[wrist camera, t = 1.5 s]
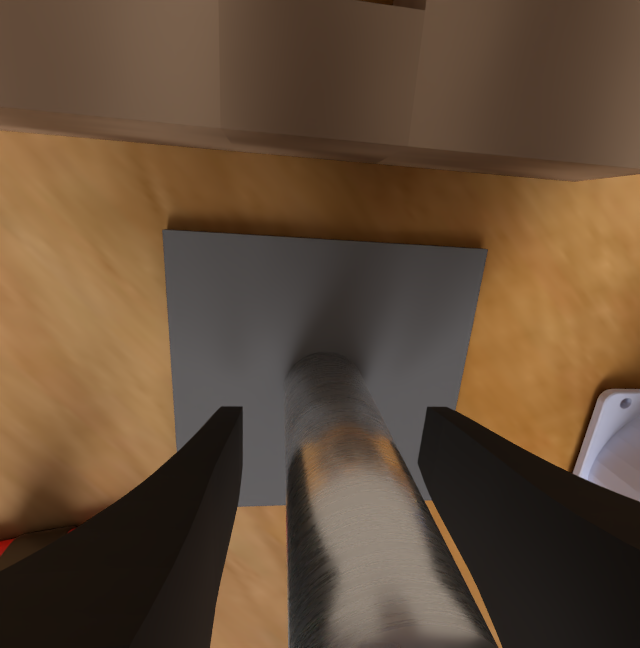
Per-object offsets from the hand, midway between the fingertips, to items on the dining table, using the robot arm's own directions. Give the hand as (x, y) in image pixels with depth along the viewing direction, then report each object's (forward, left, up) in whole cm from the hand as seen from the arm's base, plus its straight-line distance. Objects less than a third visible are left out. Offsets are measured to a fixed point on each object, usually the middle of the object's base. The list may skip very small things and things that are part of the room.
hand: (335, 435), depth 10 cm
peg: (0, 0, -3) cm, 3 cm away
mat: (0, 0, -3) cm, 3 cm away
